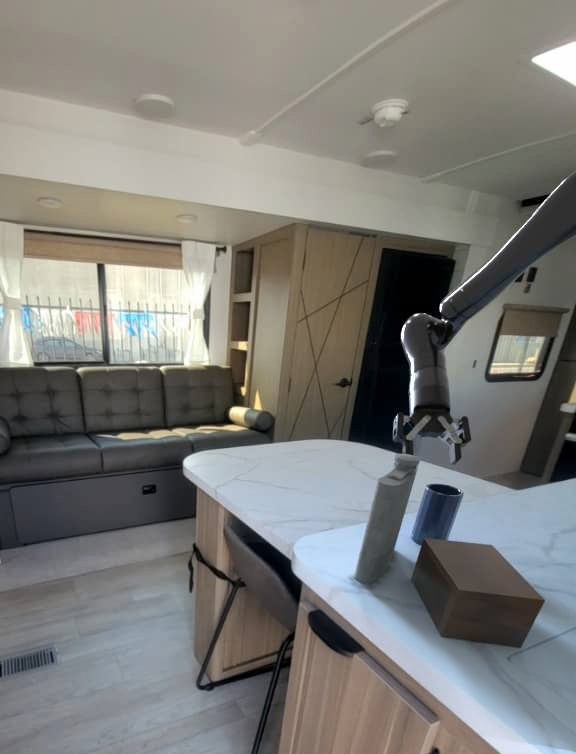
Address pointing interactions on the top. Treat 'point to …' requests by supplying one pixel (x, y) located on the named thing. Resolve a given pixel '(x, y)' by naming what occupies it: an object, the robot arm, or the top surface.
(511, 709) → the top surface
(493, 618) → the walnut wood box
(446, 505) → the blue cup
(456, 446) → the robot arm
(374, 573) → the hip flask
